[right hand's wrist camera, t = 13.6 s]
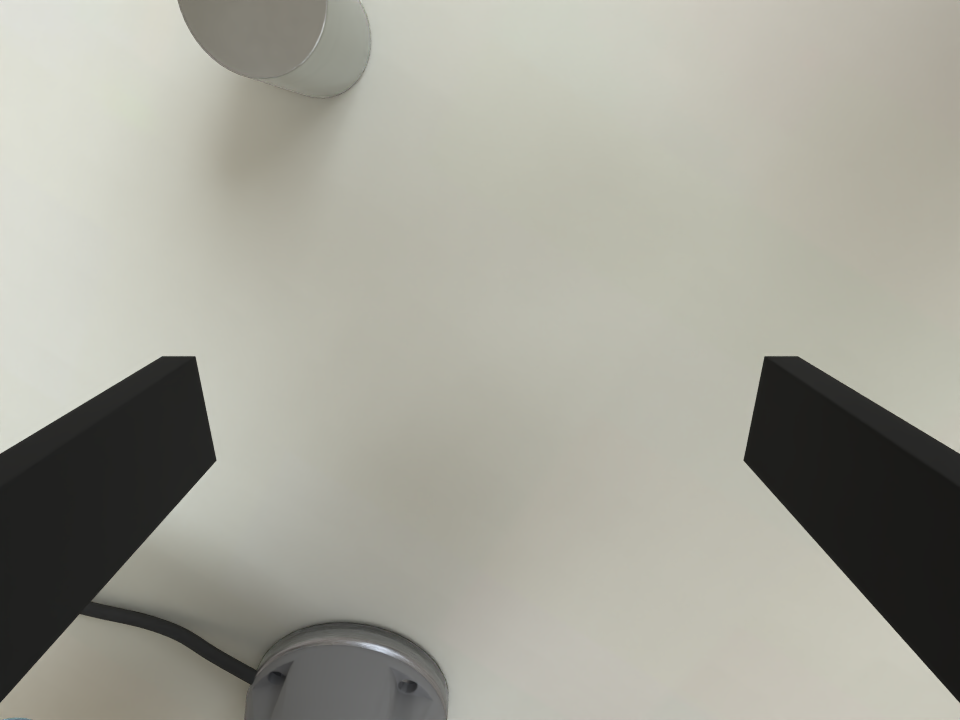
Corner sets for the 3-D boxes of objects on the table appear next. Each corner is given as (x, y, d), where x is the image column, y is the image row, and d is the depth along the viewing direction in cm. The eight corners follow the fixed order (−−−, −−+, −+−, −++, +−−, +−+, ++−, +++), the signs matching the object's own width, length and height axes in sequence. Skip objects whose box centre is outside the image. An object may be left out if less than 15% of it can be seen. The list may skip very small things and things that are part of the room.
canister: (237, 41, 25) (145, 0, 18) (300, -61, 24) (225, -146, 17) (328, 122, 26) (272, 111, 20) (393, 30, 25) (358, -15, 18)
